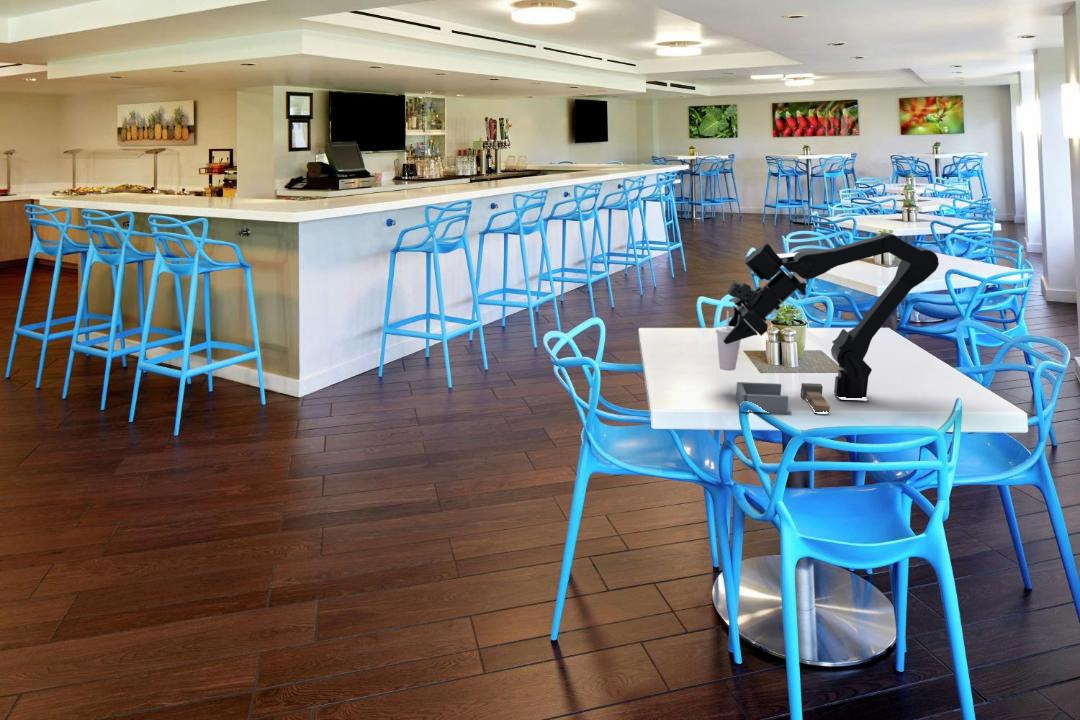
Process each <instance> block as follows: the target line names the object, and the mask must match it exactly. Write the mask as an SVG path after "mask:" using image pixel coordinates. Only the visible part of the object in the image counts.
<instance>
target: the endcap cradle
mask: <svg viewBox="0 0 1080 720" xmlns="http://www.w3.org/2000/svg"><path fill="white" fill-rule="evenodd" d="M781 392H782V383H772V382H770V383H769V382H747V381H746V382H743V381H742V382H741V381H737V382H736V393H735V400H736V402H737V405H738V407H739V406H740V404H741V403H742V402H743V401H749V402H752V403H754V404H756V405H758V406H759V407H761V408H762V409H763V410H765V411H767V412H769V413H770V414H771V415H772V414H774V415H792V413H793V411H792V410H791V408H790V406H789V395H782V394H781ZM769 413H768V414H769ZM748 414H754V413H753V412H751V411H749V412H748Z"/></svg>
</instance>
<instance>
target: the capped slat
mask: <svg viewBox="0 0 1080 720" xmlns="http://www.w3.org/2000/svg"><path fill="white" fill-rule="evenodd" d="M800 395H801V396H802V398H806V399H807V400H808V402H809V403H810V405H811V406H812V407H813V409H814V410H815V412H823V411H824V412H826V411H827V412H829V413H830V404H829V403H828V401H827V400H826V398H825V397H824V396H823V385H822V384H821V383H813V382H812V383H809V382H807V383H806V382H801V386H800ZM801 396H800V397H801ZM802 398H801V399H802ZM806 399H805V400H806ZM808 402H807V403H808Z"/></svg>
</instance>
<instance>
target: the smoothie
mask: <svg viewBox="0 0 1080 720" xmlns="http://www.w3.org/2000/svg"><path fill="white" fill-rule="evenodd" d="M729 321H730V310H726V323H725V324H726V326H718V327H716V328H715V334H716V336H717V337H716V338H717V350H718V351H717V353H718V365H719V369H720V370H722V371H727V372H728V371H735V370H736V367H737V362H738V356H739V353H740V352H739V351H740V346H741V342H742V341H741V340H742V339H741V340H738V341H735V342H732V343H729V344H725V343H724V339H725V338H726V337H727V335H728V334H729V333H730V332H731V331H732V329H733V328H734V327H733V326H729Z"/></svg>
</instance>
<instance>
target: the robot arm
mask: <svg viewBox="0 0 1080 720" xmlns="http://www.w3.org/2000/svg"><path fill="white" fill-rule="evenodd" d="M886 253H887V254H888V253H889V254H891V255H892V256H894V257H896V258H897V259H899V260H900V262H899V264H898V266H897V269H896V273H895V274H894V278H893V279H892V281H890V283H889V284H888V285H887V286H886V288H885V290H883V292H882V293H881V294H880V295H879V297H878V298H877V299H876V300H875V302H874V303H873V305H872V306H871V307H870V308H869V309H868V311H867V312H866V313H865V315H864V316H863V317H862V318H861V319H860V321H859V322H858V323H857V325H856V326H855V327H854V328H852V329H851V330H850V329H849V331H847V330H846V329H845V328H842V330H841V331H840V332H839V335H838V336H837V337H836V338H835V339H834V340H832V341H831V343H832V344H833V345H832V347H831V349H830V351H831V356H832V358H833V360H834V361H835V362H836V364H838V367H839V368H840V369H839V370H837V371H838V372H837V375H836V376H835V378H834V387H833V388H834V390H833V394H834V395H835V396H836V397H837V396H838V397H846V398H862V397H867V393H868V385H869V378H870V377H869V376H870V375H871V372H872V368H871V366H870V365H868V363H867V362H866V361H865V360H864V358H865V357H866V355H867V353H868V352H869V349H870V348H869V347H870V344H871V342H872V340H873V338H874V337H875V335H876V334H877V333H878V332H879V330H880V329H881V328H882V326H883V325H884V324H885V323H886V322H887V320H888V319H889V318H890V317H891V315H892V314H893V313H894V311H895V310H896V309H897V308H898V306H899V305H900V304H901V303H902V301H904V299H905V298H906V296H907V295H908V294H909V293H910V292H911V290H913V289H914V288H915V287H917V286H918V285H920V284H921V283H923V282H925V281H926V280H927V279H928V278H929V277H930V276H931V275H932V274H933V273H935V272H936V271H937V270H938V267H939V265H940V263H939V257H938V255H937V254H936V253H935V252H934V251H933V250H930V249H927V248H925V247H922V246H913V245H912V244H910V243H908V242H906V241H905V240H902V239H901V238H899V237H898V236H897V235H895V234H892V233H889V232H886V233H885V232H884V233H882V234H879V235H877V236H874V237H871V238H870V237H869V238H866V239H864V240H863V239H862V240H859V241H855V242H852V243H847V244H845V245H841V246H836V247H834V248H827V249H810V250H801V251H798V252H796V253H795V254H794V256H786V257H780V256H779V255H778V254H777V253H776V252H775V251H774V249H773V248H772V246H771V245H770V244H769V243H768V242H765V243H764V244H763V245H761V246H759V247H758V248H757V249H755V250H753V251H752V252H750V254H749V255H748V256H747V257H746V258H745V259H744V261H743V264H745V266H747V268H748V269H749V270H750V271H751V272H752V273H753V274H754V275H755V276H756V277H757V278H758V279H759V280H760V281H763V280H764V279H765V280H766V281H768V282H767V283H766V284H765V285H764V286H763V287H761V286H758V287H756V289H753V288H751V285H750V284H746V283H745V282H743V283H741V282H739V281H737V280H732V282H731V284H730V286H729V288H728V290H727V294H728V295H729V296H730V297H733V298H736V299H735V300H734V301H733V303H734V305H732V306H733V307H732V309H733V310H732V311H733V312H732V316H731V318H730V319H729V326H733V327H734V328H733V329H732V331H731V332H730V333H729V334H728V335H727V337H726V338H725V339H724V343H725V344H729V343H732V342H735V341H738V340H745V339H747V338H751V337H753V336H758V335H759V336H763V335H764V334H765V333H767V332H768V327H769V325H768V323H767V322H766V321H767V318H768V316H770V315H771V314H772V313H773V312H775V310H776V311H778V310H780V309H781V306H780V305H782V304H783V303H784V302H785V301H786V300H788V299H789V298H790V297H791V296H792V295H793V294H794V293H795V292H796V291H799V293H801V295H803V296H806V295H807V285H808V284H807V282H805V281H800V280H799V278H797V276H798V277H800V278H802V279H803V280H812V279H815V278H817V277H819V276H821V275H823V274H825V273H827V272H829V271H831V270H832V269H834V268H836V267H838V266H842V265H845V264H849V263H853V262H857V261H861V260H864V259H868V258H871V257H876V256H879V255H883V254H886ZM782 267H783V268H785V269H786V271H788V272H790V273H789V274H787V273H786V272H785V271H784V269H783V268H782ZM791 272H792V273H791ZM794 273H795V274H796V275H797V276H795V274H794ZM735 305H736V306H737V307H736V306H735ZM838 397H837V398H838Z"/></svg>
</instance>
